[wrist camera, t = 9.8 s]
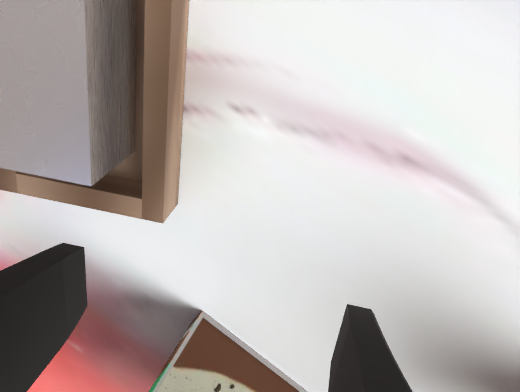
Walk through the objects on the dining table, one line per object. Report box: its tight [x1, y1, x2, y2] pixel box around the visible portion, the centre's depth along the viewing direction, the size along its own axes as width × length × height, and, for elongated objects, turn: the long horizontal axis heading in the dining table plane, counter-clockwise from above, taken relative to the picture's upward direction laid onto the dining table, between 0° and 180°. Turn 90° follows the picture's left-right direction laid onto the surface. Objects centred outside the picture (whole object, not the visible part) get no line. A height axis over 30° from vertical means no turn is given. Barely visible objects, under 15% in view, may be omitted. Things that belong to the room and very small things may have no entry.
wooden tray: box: [0, 0, 189, 223], centre depth 18 cm, size 8×13×2 cm, turn 173°
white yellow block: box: [0, 0, 137, 186], centre depth 17 cm, size 4×8×4 cm, turn 173°
